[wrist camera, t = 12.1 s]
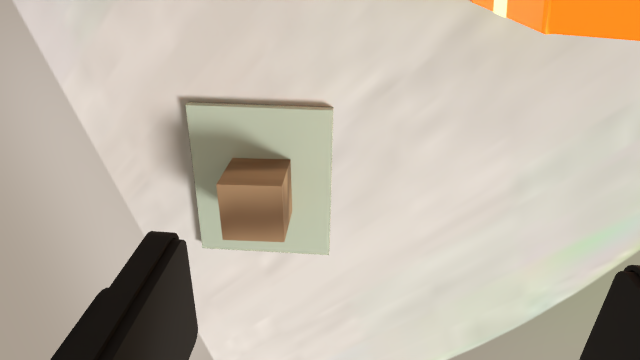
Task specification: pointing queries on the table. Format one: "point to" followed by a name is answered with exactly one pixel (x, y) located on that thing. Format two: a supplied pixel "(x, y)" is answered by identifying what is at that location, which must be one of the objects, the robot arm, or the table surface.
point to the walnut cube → (255, 199)
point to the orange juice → (573, 16)
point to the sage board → (265, 143)
